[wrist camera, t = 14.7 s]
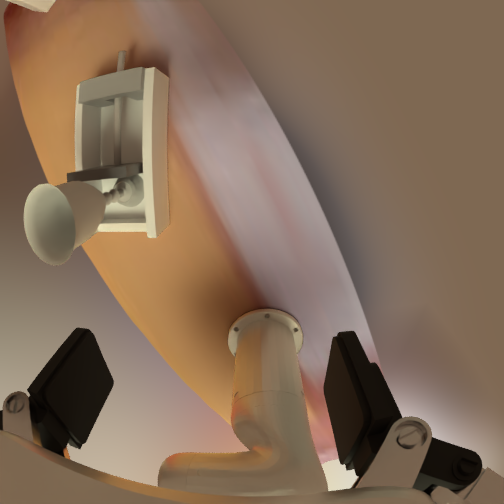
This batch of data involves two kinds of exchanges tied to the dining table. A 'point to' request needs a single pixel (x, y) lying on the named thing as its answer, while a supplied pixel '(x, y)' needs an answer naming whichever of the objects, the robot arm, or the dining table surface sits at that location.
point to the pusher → (118, 168)
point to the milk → (35, 4)
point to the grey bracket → (127, 143)
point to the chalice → (72, 214)
